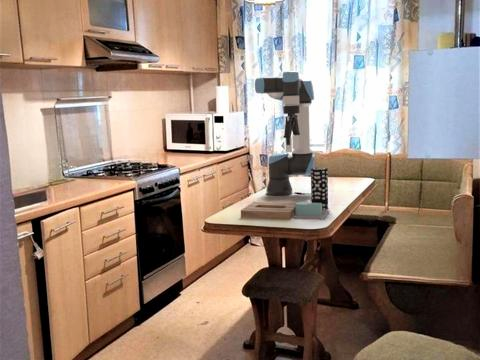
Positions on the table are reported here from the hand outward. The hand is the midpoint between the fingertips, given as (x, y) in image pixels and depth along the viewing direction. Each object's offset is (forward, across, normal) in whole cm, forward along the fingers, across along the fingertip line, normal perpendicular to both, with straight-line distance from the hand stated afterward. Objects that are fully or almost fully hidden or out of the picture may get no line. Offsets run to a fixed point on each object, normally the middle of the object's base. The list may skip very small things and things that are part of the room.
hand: (292, 150), depth 244 cm
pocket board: (+31, +2, -11) cm, 33 cm away
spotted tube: (+31, -14, +10) cm, 35 cm away
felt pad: (+31, +2, +10) cm, 32 cm away
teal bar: (+30, +2, +8) cm, 31 cm away
